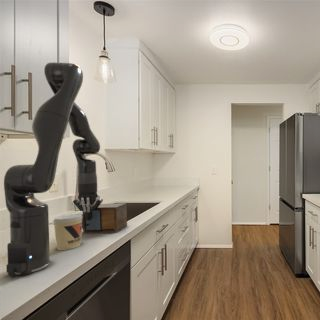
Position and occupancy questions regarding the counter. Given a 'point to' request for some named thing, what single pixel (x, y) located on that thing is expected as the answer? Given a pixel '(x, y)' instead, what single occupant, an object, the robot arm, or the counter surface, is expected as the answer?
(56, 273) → the counter surface
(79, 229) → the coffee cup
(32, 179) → the robot arm
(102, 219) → the cupboard
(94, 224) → the sliding lid with handle
